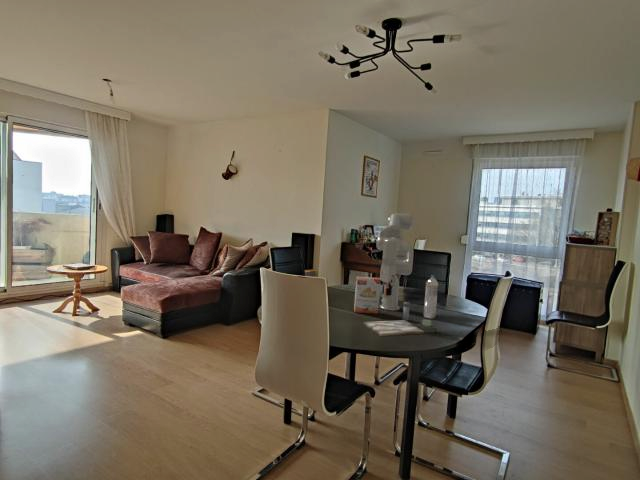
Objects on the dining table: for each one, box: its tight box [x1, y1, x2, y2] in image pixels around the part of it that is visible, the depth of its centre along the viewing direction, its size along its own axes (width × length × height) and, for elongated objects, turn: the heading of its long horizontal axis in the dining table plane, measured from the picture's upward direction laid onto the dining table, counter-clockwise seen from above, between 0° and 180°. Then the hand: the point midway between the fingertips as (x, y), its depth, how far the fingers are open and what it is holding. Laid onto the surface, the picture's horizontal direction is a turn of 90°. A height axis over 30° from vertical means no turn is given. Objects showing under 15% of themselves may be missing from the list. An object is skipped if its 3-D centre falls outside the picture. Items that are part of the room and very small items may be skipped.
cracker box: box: [353, 276, 382, 315], centre depth 221 cm, size 14×6×21 cm, turn 92°
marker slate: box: [402, 301, 411, 322], centre depth 210 cm, size 3×3×10 cm
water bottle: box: [423, 274, 439, 320], centre depth 218 cm, size 7×7×25 cm
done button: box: [421, 318, 432, 327], centre depth 194 cm, size 5×5×4 cm
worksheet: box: [363, 319, 425, 337], centre depth 193 cm, size 19×25×1 cm
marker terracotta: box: [384, 282, 391, 298], centre depth 205 cm, size 3×3×10 cm
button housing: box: [416, 322, 437, 334], centre depth 194 cm, size 7×7×2 cm
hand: (386, 294), depth 205 cm, fingers closed on marker terracotta, 3 cm apart
